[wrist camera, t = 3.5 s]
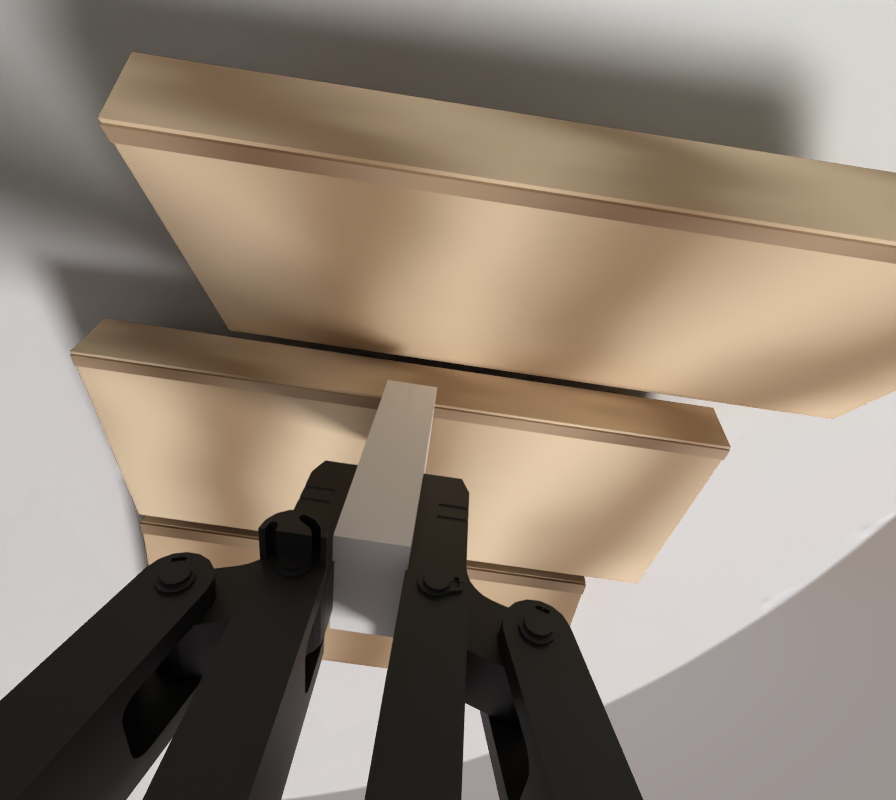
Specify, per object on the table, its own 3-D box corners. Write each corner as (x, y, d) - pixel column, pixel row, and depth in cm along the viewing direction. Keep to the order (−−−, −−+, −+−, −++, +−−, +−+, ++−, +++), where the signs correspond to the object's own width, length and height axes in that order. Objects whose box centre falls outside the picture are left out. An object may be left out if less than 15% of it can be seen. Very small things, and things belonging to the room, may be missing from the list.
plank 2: (161, 479, 22) (138, 515, 21) (104, 318, 17) (68, 352, 16) (629, 545, 23) (637, 585, 22) (712, 407, 18) (731, 448, 16)
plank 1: (244, 283, 18) (228, 331, 17) (131, 52, 11) (96, 120, 10) (825, 370, 18) (833, 420, 18) (1108, 206, 11) (1141, 282, 10)
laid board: (180, 606, 26) (159, 640, 25) (164, 493, 23) (139, 523, 21) (542, 655, 27) (547, 691, 25) (578, 551, 23) (586, 584, 22)
